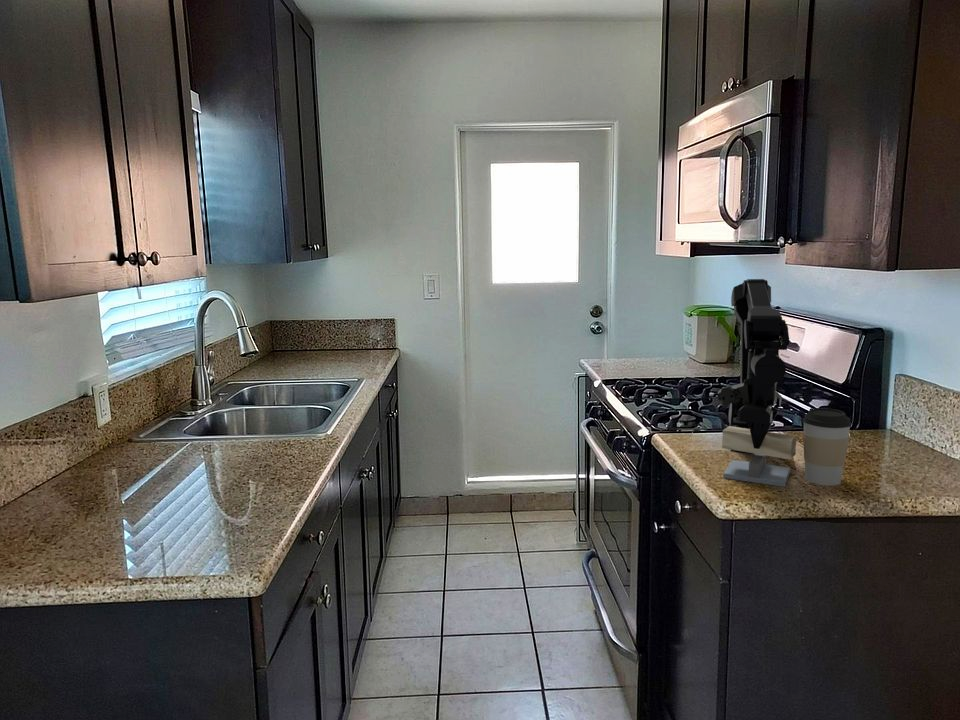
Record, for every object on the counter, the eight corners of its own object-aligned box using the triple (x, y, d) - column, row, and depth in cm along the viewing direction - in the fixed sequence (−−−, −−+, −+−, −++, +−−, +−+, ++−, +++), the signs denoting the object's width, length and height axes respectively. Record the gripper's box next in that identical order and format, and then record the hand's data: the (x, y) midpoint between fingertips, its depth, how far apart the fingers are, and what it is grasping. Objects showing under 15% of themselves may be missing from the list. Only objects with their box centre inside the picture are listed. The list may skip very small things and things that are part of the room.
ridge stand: (732, 464, 153) (732, 447, 153) (790, 472, 147) (791, 454, 147) (723, 477, 145) (724, 459, 144) (784, 486, 139) (785, 468, 138)
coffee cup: (848, 476, 144) (853, 407, 141) (846, 490, 136) (851, 417, 134) (801, 470, 149) (805, 403, 146) (796, 483, 141) (801, 412, 138)
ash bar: (728, 443, 151) (729, 426, 151) (795, 454, 143) (796, 436, 142) (722, 447, 148) (722, 430, 147) (790, 459, 140) (791, 440, 139)
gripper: (730, 363, 154) (727, 429, 157) (712, 379, 138) (710, 452, 141) (783, 367, 149) (779, 435, 152) (771, 383, 133) (767, 460, 136)
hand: (758, 445), depth 145 cm, fingers closed on ash bar, 4 cm apart
